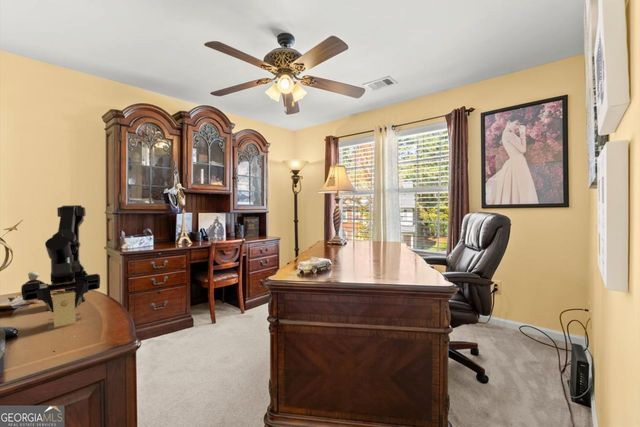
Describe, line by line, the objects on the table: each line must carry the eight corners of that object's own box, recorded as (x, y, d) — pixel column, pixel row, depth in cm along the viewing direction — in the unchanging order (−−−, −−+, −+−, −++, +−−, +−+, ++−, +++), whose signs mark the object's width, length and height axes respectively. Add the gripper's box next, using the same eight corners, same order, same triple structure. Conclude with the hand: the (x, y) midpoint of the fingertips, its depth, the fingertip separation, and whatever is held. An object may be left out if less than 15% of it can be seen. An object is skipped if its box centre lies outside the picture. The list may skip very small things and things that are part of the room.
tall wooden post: (54, 325, 91) (52, 293, 91) (75, 320, 94) (74, 290, 94) (54, 328, 89) (52, 295, 88) (75, 324, 92) (74, 292, 92)
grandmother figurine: (19, 305, 115) (18, 273, 115) (23, 303, 118) (21, 271, 118) (46, 302, 119) (44, 271, 118) (48, 299, 122) (47, 269, 122)
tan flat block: (48, 323, 96) (47, 319, 96) (81, 317, 102) (81, 312, 102) (46, 336, 87) (46, 331, 87) (83, 328, 92) (82, 323, 92)
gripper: (20, 257, 88) (18, 302, 80) (98, 249, 100) (103, 288, 92) (24, 278, 94) (22, 323, 86) (97, 269, 106) (101, 307, 98)
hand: (64, 309), depth 90 cm, fingers closed on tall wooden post, 5 cm apart
